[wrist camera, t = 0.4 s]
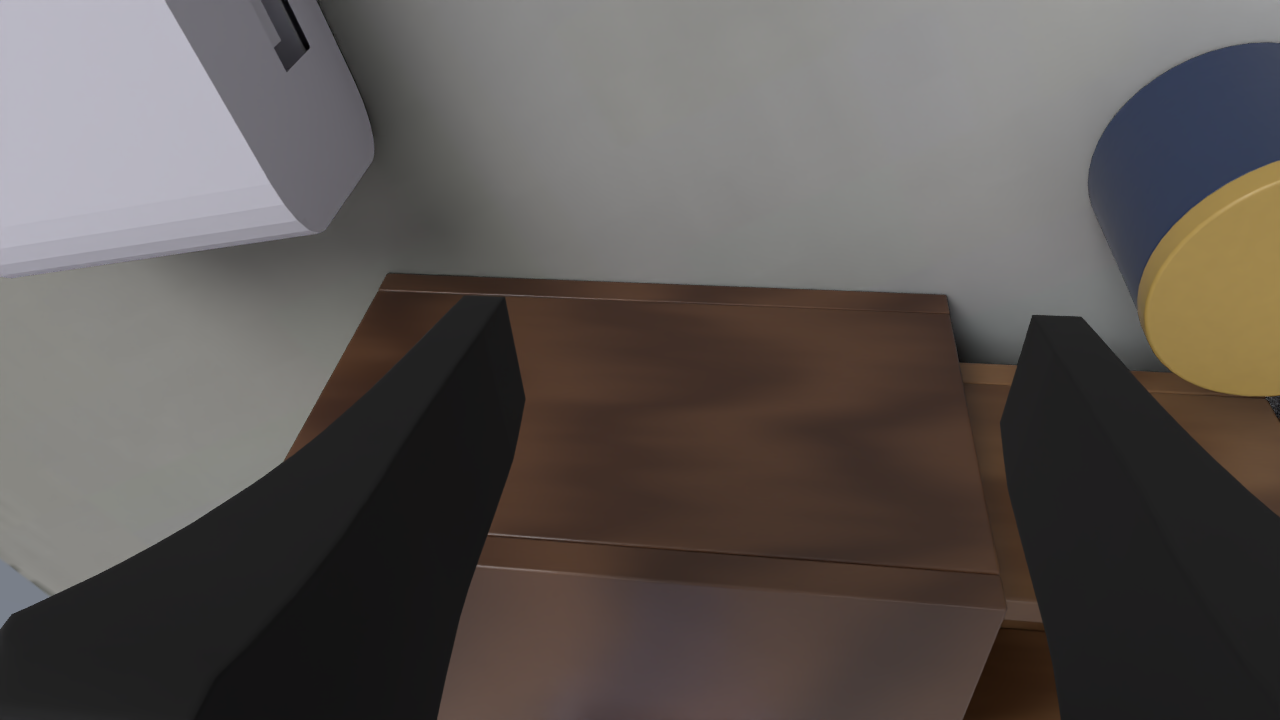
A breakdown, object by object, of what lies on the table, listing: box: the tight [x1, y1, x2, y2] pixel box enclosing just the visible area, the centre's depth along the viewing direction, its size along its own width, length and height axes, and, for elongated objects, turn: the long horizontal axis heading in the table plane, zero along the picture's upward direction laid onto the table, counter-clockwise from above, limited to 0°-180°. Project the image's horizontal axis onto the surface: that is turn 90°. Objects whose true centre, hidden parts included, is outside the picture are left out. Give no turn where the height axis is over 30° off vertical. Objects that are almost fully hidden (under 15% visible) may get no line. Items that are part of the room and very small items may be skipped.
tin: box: [1088, 42, 1280, 396], centre depth 19 cm, size 6×6×5 cm
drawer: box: [959, 362, 1280, 720], centre depth 25 cm, size 19×13×8 cm
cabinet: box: [284, 273, 1007, 720], centre depth 26 cm, size 16×15×10 cm
